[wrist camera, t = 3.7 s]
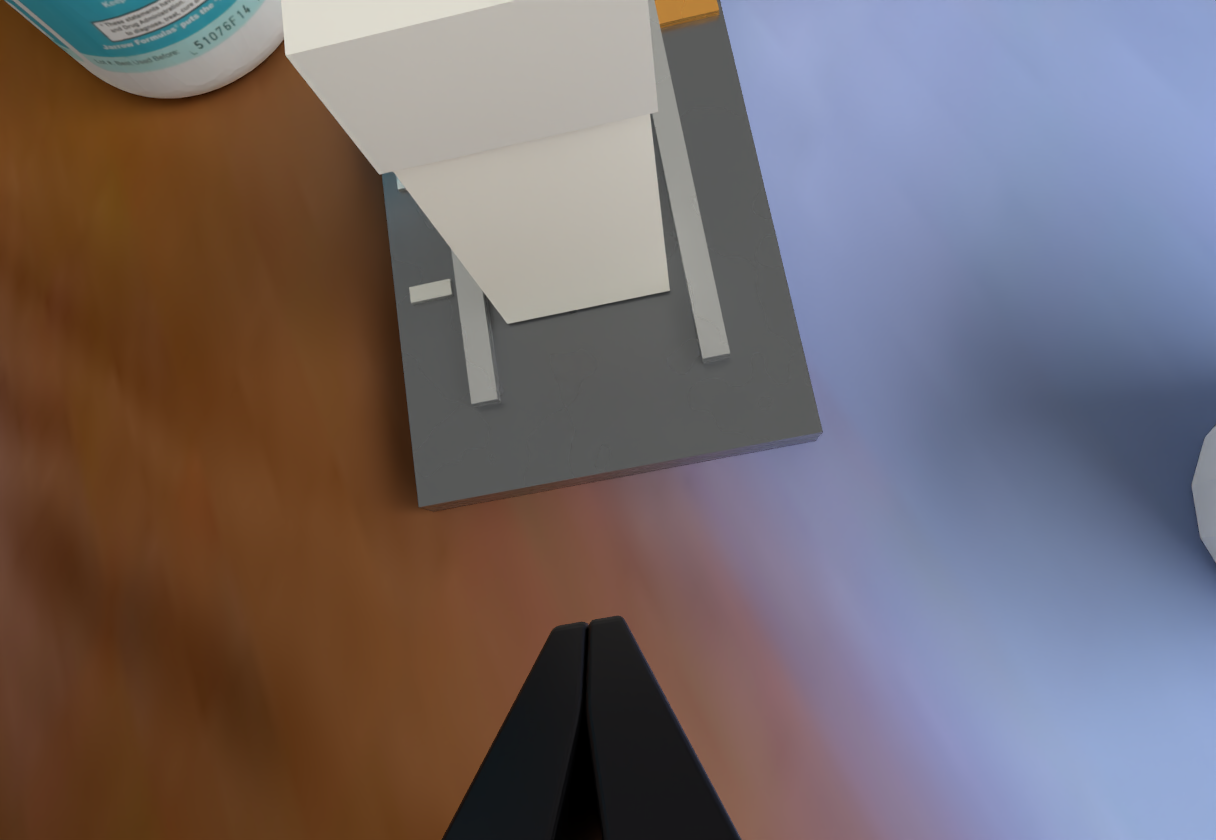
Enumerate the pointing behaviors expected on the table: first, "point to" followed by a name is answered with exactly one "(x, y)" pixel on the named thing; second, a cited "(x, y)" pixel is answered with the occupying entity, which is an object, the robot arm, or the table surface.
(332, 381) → the table surface
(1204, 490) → the white cylinder
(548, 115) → the fader tab
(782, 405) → the console
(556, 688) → the robot arm
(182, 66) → the pill bottle
